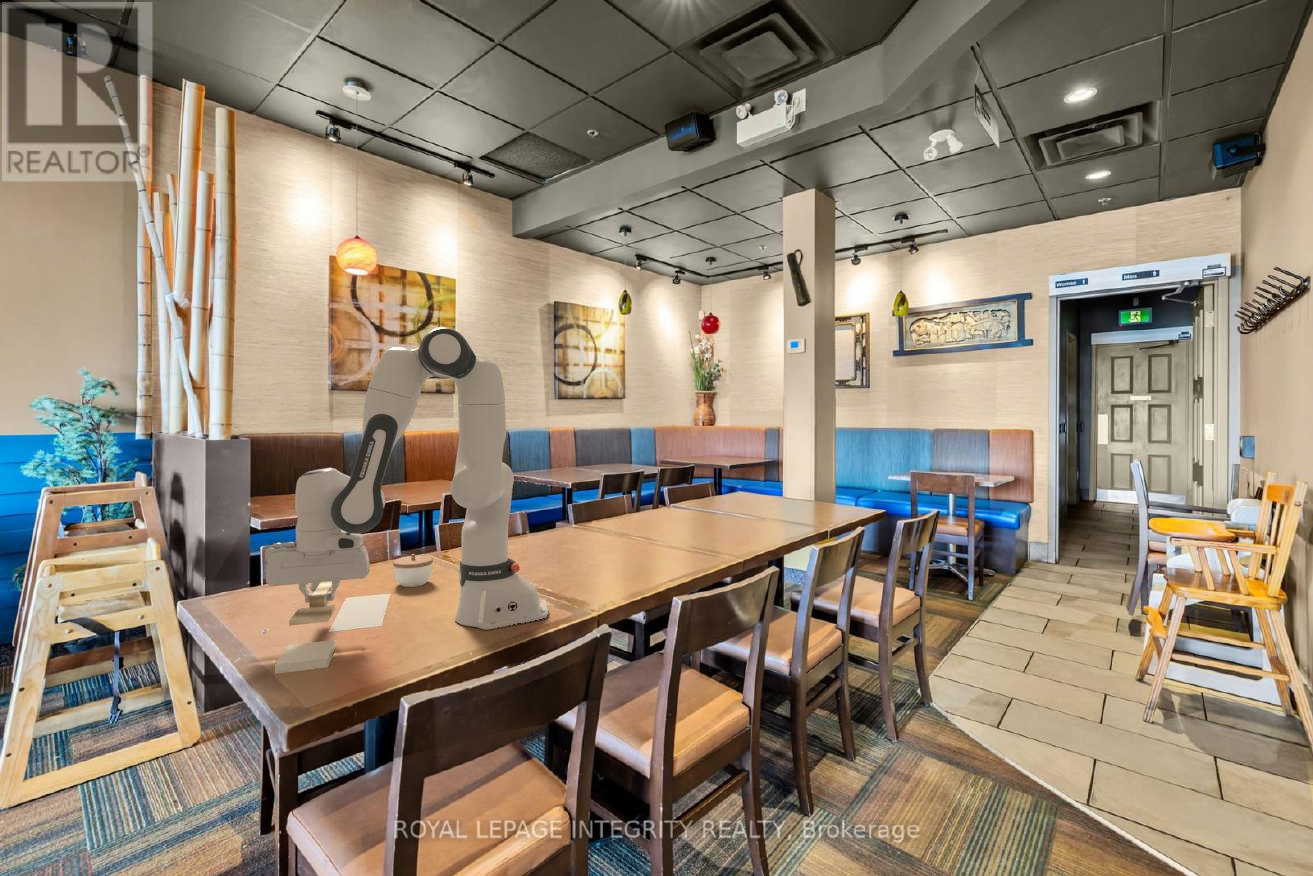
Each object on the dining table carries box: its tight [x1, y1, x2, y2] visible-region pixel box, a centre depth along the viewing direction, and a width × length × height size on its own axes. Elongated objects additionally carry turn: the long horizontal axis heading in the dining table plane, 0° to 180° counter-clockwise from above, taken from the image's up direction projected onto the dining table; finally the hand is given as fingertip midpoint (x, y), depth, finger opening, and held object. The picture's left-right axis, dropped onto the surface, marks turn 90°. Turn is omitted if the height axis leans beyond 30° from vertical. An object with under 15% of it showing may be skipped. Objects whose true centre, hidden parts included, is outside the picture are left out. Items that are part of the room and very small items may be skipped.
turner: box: [288, 581, 336, 627], centre depth 130 cm, size 22×7×3 cm, turn 20°
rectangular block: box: [274, 639, 337, 675], centre depth 118 cm, size 9×2×10 cm
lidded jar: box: [392, 553, 434, 588], centre depth 169 cm, size 11×11×9 cm
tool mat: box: [328, 593, 391, 633], centre depth 146 cm, size 11×26×1 cm, turn 20°
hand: (320, 601), depth 131 cm, fingers closed on turner, 3 cm apart
